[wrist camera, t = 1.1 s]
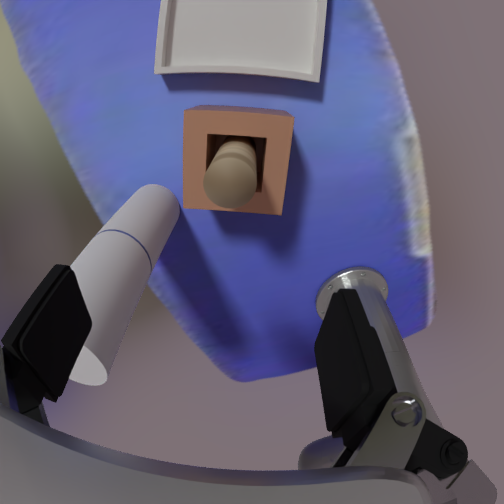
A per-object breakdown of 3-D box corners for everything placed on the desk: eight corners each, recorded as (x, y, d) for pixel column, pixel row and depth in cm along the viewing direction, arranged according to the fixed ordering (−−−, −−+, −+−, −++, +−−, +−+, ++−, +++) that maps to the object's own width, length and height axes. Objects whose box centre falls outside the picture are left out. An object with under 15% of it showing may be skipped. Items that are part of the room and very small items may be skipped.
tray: (314, 82, 28) (319, 82, 26) (161, 74, 27) (154, 74, 25) (324, -28, 19) (329, -35, 17) (173, -35, 19) (168, -42, 17)
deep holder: (276, 188, 36) (281, 215, 29) (197, 182, 35) (183, 208, 28) (285, 110, 30) (294, 117, 23) (200, 105, 30) (184, 110, 23)
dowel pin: (254, 165, 33) (254, 210, 22) (221, 163, 33) (202, 206, 22) (257, 133, 31) (259, 160, 20) (222, 131, 31) (203, 157, 20)
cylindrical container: (188, 198, 36) (113, 357, 15) (168, 239, 40) (102, 395, 19) (141, 175, 34) (22, 306, 13) (125, 218, 38) (30, 356, 17)
